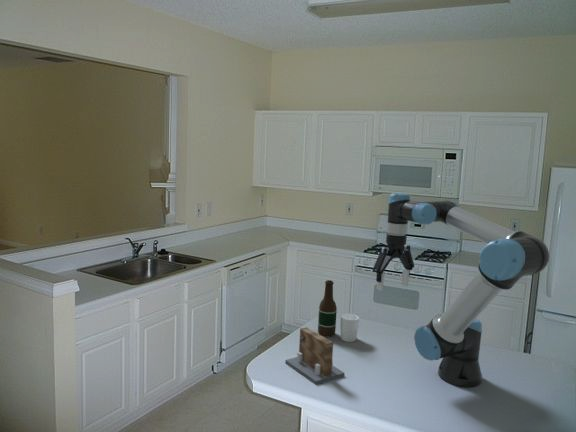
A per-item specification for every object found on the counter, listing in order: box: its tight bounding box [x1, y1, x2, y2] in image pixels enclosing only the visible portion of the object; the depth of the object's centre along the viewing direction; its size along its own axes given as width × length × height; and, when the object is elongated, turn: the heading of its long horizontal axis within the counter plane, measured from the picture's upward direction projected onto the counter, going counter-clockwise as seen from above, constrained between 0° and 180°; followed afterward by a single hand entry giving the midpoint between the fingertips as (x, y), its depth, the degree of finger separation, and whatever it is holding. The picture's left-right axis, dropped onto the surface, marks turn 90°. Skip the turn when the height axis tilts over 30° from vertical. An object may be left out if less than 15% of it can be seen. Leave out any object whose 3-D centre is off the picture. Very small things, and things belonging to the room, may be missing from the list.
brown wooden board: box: [298, 326, 334, 376], centre depth 180 cm, size 16×4×12 cm, turn 34°
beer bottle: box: [317, 280, 338, 338], centre depth 214 cm, size 8×8×24 cm
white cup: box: [340, 313, 360, 343], centre depth 211 cm, size 8×8×10 cm
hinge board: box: [285, 351, 345, 385], centre depth 181 cm, size 19×13×5 cm
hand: (392, 287), depth 190 cm, fingers open, 13 cm apart
